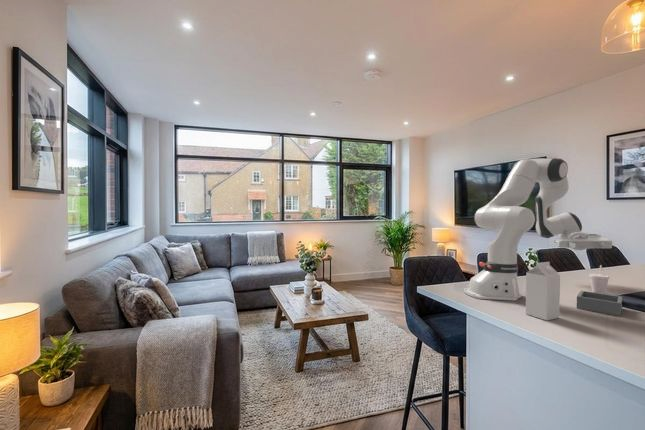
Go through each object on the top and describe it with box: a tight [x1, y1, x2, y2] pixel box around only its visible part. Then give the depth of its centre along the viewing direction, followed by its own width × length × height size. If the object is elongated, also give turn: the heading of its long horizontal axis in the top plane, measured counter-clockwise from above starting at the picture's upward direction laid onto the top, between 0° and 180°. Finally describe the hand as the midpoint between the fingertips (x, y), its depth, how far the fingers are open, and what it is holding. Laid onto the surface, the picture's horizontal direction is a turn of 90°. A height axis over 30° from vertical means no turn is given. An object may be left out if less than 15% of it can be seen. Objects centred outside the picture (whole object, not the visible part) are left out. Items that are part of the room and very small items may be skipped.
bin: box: [576, 290, 623, 317], centre depth 116 cm, size 12×12×4 cm
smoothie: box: [588, 264, 610, 294], centre depth 129 cm, size 6×6×14 cm
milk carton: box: [525, 261, 561, 321], centre depth 107 cm, size 7×7×19 cm
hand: (589, 246), depth 139 cm, fingers open, 8 cm apart
